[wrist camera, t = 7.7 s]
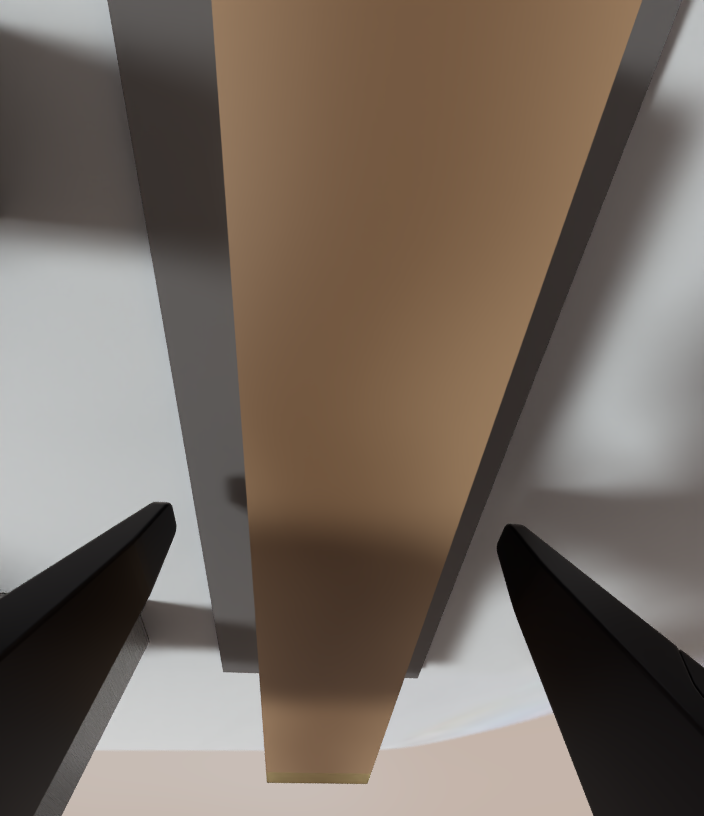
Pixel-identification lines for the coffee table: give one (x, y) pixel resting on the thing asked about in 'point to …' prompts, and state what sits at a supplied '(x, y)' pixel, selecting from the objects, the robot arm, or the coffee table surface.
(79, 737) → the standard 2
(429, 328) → the rail
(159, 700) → the coffee table surface
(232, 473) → the mat
